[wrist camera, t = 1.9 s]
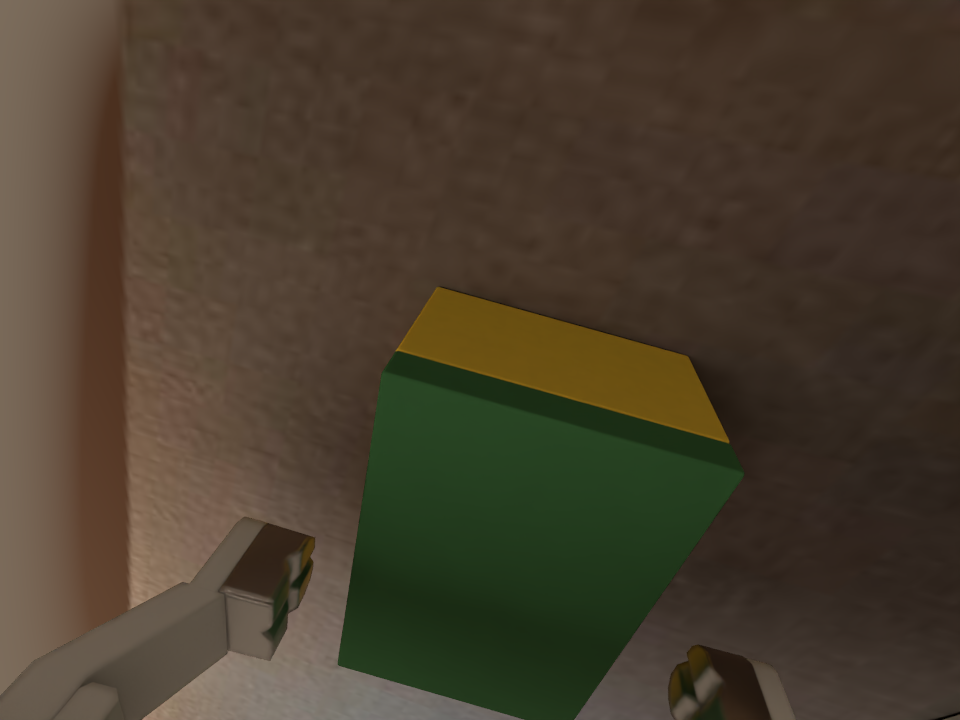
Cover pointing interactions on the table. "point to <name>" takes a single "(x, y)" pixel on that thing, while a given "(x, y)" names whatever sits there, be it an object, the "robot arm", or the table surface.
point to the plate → (953, 718)
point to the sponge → (525, 505)
